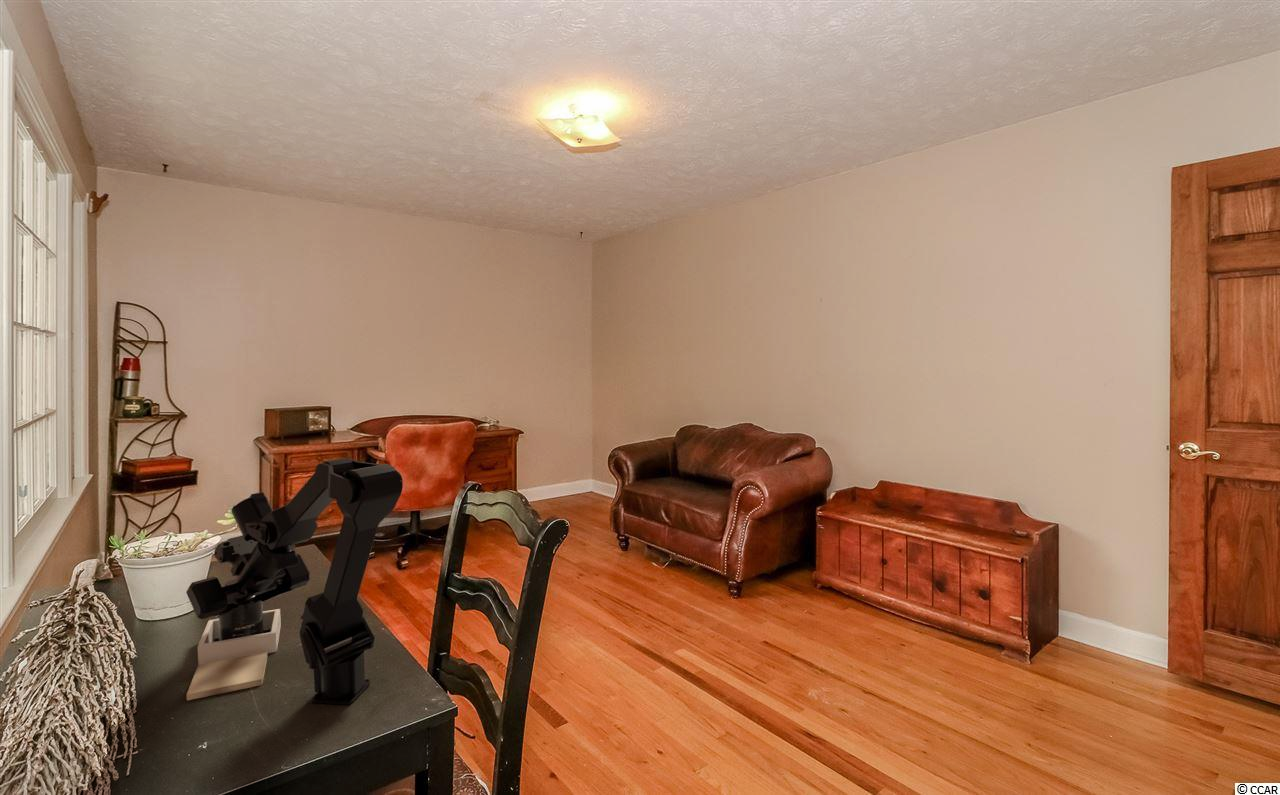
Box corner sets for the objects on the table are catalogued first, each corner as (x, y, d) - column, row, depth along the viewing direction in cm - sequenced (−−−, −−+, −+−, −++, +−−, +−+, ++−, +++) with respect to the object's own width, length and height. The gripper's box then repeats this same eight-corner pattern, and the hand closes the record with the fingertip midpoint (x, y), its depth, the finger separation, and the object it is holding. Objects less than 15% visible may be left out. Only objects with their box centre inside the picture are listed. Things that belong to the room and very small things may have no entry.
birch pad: (267, 657, 109) (267, 652, 109) (262, 684, 100) (261, 679, 100) (198, 670, 104) (198, 664, 104) (186, 700, 96) (186, 694, 96)
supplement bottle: (242, 655, 110) (239, 590, 109) (210, 651, 111) (207, 587, 110) (272, 638, 116) (270, 576, 115) (242, 634, 118) (239, 573, 117)
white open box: (280, 625, 121) (280, 608, 121) (276, 651, 111) (275, 632, 111) (209, 638, 116) (208, 620, 116) (198, 666, 106) (197, 646, 106)
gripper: (299, 512, 118) (270, 558, 124) (188, 537, 102) (161, 588, 108) (325, 559, 114) (294, 604, 121) (214, 593, 98) (185, 643, 105)
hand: (237, 608), depth 114 cm, fingers closed on supplement bottle, 7 cm apart
